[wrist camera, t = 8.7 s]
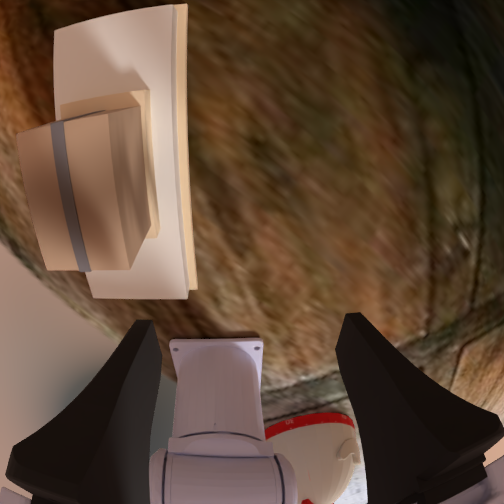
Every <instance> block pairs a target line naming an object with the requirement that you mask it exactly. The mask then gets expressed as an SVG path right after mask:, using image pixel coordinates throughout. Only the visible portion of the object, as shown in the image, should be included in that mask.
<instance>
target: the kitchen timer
mask: <svg viewBox="0 0 504 504" xmlns="http://www.w3.org/2000/svg"><path fill="white" fill-rule="evenodd" d="M264 432H265V440H266V442H272V443H273V451H274V453H280V454H282V455H284V456H285V458H286V459H287V460H288V461H289V462H290V463H291V465H292V467H293V469H294V472H295V476H296V481H297V489H298V502H297V504H334V503H333V502H335V501H336V500H337V499H338V498H339V497H340V496H341V495H342V493H343V492H344V491H345V489H346V488H347V486H348V484H349V482H350V480H351V477H352V475H353V472H354V468H355V465H360V463H361V461H360V452H359V447H358V443H357V441H356V432H355V428H354V424H353V421H352V419H350V418H349V417H348V416H346V415H343V414H340V413H315V414H308V415H303V416H298V417H294V418H291V419H288V420H285V421H281V422H279V423H277V424H275V425H273V426H270V427H269V428H267V429H266V430H264Z"/></svg>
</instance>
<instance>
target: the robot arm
mask: <svg viewBox="0 0 504 504" xmlns="http://www.w3.org/2000/svg"><path fill="white" fill-rule="evenodd" d="M169 347H170V351H171V355H172V359H173V363H174V367H175V370H176V374H177V378H178V382H177V391H176V402H175V413H174V423H173V435H172V438H169V445H168V450H167V449H162V448H161V449H159V450H158V451H157V452H156V453H154V454H153V455H152V456H151V459H150V463H149V452H150V435H151V426H152V421H153V416H154V410H155V405H156V399H157V394H158V389H159V383H160V376H161V364H162V354H161V350H160V347H159V343H158V339H157V336H156V332H155V328H154V325H153V321H152V320H136V321H135V322H134V324H133V325H132V327H131V328H130V329H129V331H128V332H127V334H126V335H125V337H124V338H123V340H122V341H121V343H120V344H119V345H118V347H117V348H116V350H115V351H114V352H113V354H112V355H111V356H110V358H109V359H108V360H107V362H106V363H105V365H104V366H103V367H102V368H101V370H100V371H99V372H98V373H97V375H96V376H95V377H94V378H93V379H92V381H91V382H90V383H89V384H88V385H87V386H86V387H85V389H84V390H83V391H82V392H81V393H80V394H79V395H78V396H77V397H76V398H75V399H74V400H73V401H72V402H71V403H70V404H69V405H68V406H67V407H66V408H65V409H64V410H63V411H62V412H61V413H59V414H58V415H57V416H56V417H55V418H53V419H52V420H51V421H50V422H48V423H47V424H46V425H45V426H43V427H42V428H40V429H39V430H38V431H36V432H35V433H34V434H32V435H30V436H29V437H27V438H26V439H24V440H22V441H21V442H19V443H18V444H16V445H14V446H13V448H12V452H11V455H10V458H9V462H8V466H7V470H6V474H5V475H6V477H7V479H9V480H10V481H12V482H13V483H14V484H16V485H18V486H20V487H21V488H23V489H24V490H26V491H28V492H30V493H31V494H33V496H32V500H31V499H29V498H26V497H24V496H22V495H20V494H18V493H15V492H14V491H11V490H9V489H7V488H5V487H2V488H1V493H0V504H297V502H298V489H297V481H296V476H295V472H294V469H293V467H292V465H291V463H290V462H289V461H288V460H287V459H286V458H285V456H284V455H282V454H280V453H274V451H273V443H272V442H266V440H265V432H264V423H263V414H262V406H261V397H260V385H261V370H262V354H263V340H262V339H261V338H235V339H172V340H170V343H169ZM176 348H177V349H176ZM335 350H336V355H337V360H338V365H339V369H340V373H341V376H342V379H343V382H344V385H345V388H346V391H347V394H348V396H349V399H350V402H351V405H352V408H353V411H354V414H355V417H356V420H357V424H358V428H359V433H360V438H361V443H362V449H363V456H364V462H365V470H366V480H367V495H368V504H504V455H503V456H502V457H500V458H499V459H497V460H495V461H494V462H492V463H491V464H489V465H487V466H486V467H484V466H483V462H484V461H485V460H486V458H485V455H484V453H485V452H486V451H487V450H488V449H490V448H491V447H492V446H494V445H495V444H496V443H497V442H498V441H499V440H500V439H502V438H503V436H504V427H503V425H502V423H501V421H500V419H499V417H498V415H497V414H494V413H492V412H489V411H487V410H484V409H482V408H480V407H477V406H475V405H473V404H471V403H469V402H467V401H465V400H463V399H462V398H460V397H458V396H456V395H455V394H453V393H451V392H450V391H448V390H447V389H445V388H443V387H442V386H440V385H439V384H438V383H436V382H435V381H433V380H432V379H431V378H429V377H428V376H427V375H425V374H424V373H423V372H422V371H420V370H419V369H418V368H417V367H416V366H414V365H413V364H412V363H411V362H410V361H409V360H408V359H407V358H405V357H404V356H403V355H402V354H401V353H400V352H399V351H398V350H397V349H396V348H395V347H394V346H393V345H392V344H391V343H390V342H389V341H388V340H387V339H386V338H385V337H384V336H383V335H382V334H381V333H380V332H379V331H378V330H377V329H376V328H375V327H374V326H373V325H372V324H371V323H370V322H369V321H368V320H367V319H366V318H365V317H364V316H363V315H362V314H361V313H360V312H358V313H347V314H346V315H345V318H344V322H343V325H342V329H341V332H340V335H339V339H338V342H337V345H336V348H335Z"/></svg>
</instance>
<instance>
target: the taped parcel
mask: <svg viewBox="0 0 504 504" xmlns="http://www.w3.org/2000/svg"><path fill="white" fill-rule="evenodd" d="M60 112H61V120H57V121H54V122H51V123H47V124H44V125H41V126H38V127H35V128H32V129H29V130H26V131H23V132H20V133H17V134H16V139H17V146H18V153H19V160H20V166H21V172H22V177H23V183H24V188H25V192H26V197H27V201H28V206H29V210H30V214H31V218H32V222H33V226H34V229H35V233H36V236H37V240H38V243H39V247H40V250H41V253H42V256H43V259H44V262H45V265H46V268H47V270H79V271H80V272H91V271H92V270H130V269H131V267H132V265H133V263H134V260H135V258H136V256H137V254H138V252H139V250H140V248H141V245H142V243H143V241H144V239H149V238H157V236H158V234H159V231H160V229H161V228H160V220H159V211H158V202H157V192H156V181H155V170H154V157H153V143H152V125H151V101H150V90H138V91H131V92H124V93H117V94H111V95H105V96H100V97H94V98H89V99H84V100H79V101H75V102H70V103H66V104H62V105H60Z"/></svg>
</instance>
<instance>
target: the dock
mask: <svg viewBox="0 0 504 504" xmlns="http://www.w3.org/2000/svg"><path fill="white" fill-rule="evenodd" d="M187 23H188V5H187V4H178V5H173V4H172V5H163V6H156V7H149V8H142V9H136V10H131V11H126V12H121V13H116V14H111V15H107V16H103V17H99V18H95V19H91V20H87V21H84V22H80V23H77V24H73V25H70V26H67V27H64V28H61V29H58V30H55V31H54V99H55V115H56V121H57V120H61V112H60V105H62V104H66V103H70V102H75V101H79V100H84V99H89V98H94V97H100V96H105V95H111V94H117V93H124V92H131V91H138V90H150V101H151V125H152V143H153V157H154V170H155V181H156V192H157V202H158V211H159V220H160V228H161V229H160V231H159V234H158V236H157V238H149V239H144V241H143V243H142V245H141V248H140V250H139V252H138V254H137V256H136V258H135V260H134V263H133V265H132V267H131V269H130V270H92V271H91V272H85V273H86V277H87V280H88V283H89V286H90V289H91V293H92V296H93V298H104V299H188V292H189V290H197V287H198V282H197V272H196V261H195V249H194V237H193V224H192V210H191V194H190V176H189V155H188V126H187Z"/></svg>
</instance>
